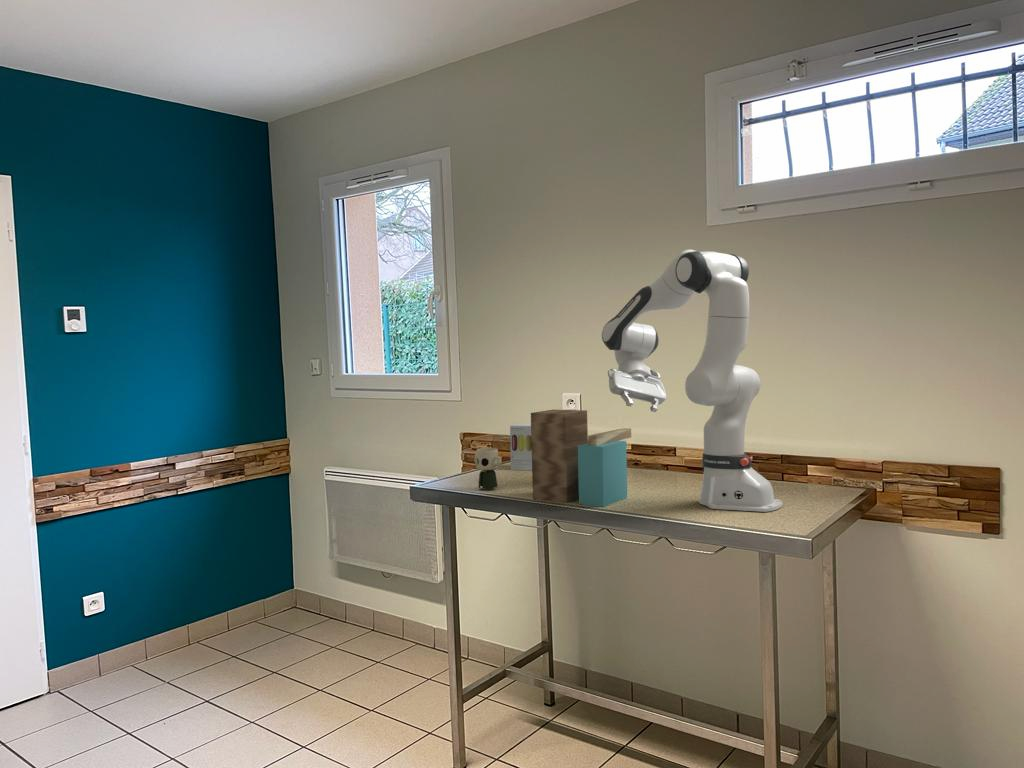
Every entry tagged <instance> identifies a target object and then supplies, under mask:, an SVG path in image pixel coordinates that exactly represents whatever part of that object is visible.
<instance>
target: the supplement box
mask: <svg viewBox="0 0 1024 768" xmlns="http://www.w3.org/2000/svg"><path fill="white" fill-rule="evenodd" d="M509 433H510V434H509V440H510V441H509V444H510V445H509V446H510V447H509V448H510V453H509V454H510V455H509V456H510V471H532V446H531V422H530V423H527V422H526V423H522V422H521V423H520V422H519V423H517V422H515V423H513V424H510V426H509Z"/></svg>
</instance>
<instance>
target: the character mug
mask: <svg viewBox="0 0 1024 768" xmlns="http://www.w3.org/2000/svg"><path fill="white" fill-rule="evenodd" d="M474 463H475V466H476V469H477V470H479V477H478V484H477V485H478V489H482V490H491V489H492V490H493V489H495V488H497V487H498V481H497V473H496V471H495V470H497V469H498V468H499V467H500V466H501V457H500V456H499V450H498V448H494V447H483V448H482V447H481V448H478V449H476V451H475V454H474ZM481 487H482V488H481Z"/></svg>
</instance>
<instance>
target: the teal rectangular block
mask: <svg viewBox="0 0 1024 768" xmlns="http://www.w3.org/2000/svg"><path fill="white" fill-rule="evenodd" d="M627 452H628V451H627V440H619V441H615V442H611V443H606V444H602V445H598V446H591V445H588V443H587V444H582V445H578V478H579V499H578V504H579V505H583V506H584V505H585V506H592V507H593V506H595V507H602V508H604V507H606V506H609V505H612V504H614V502H615V503H616V502H620V501H621V500H625V499H628V463H627V461H628V460H627V459H628V458H627V455H628V453H627ZM624 498H625V499H624ZM619 500H620V501H619Z"/></svg>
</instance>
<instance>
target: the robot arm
mask: <svg viewBox="0 0 1024 768" xmlns="http://www.w3.org/2000/svg"><path fill="white" fill-rule="evenodd" d="M749 271H750V270H749V265H748V262H747V261H746V259H744V257H741V256H740V255H737V254H731V253H723V252H717V251H698V250H695V249H685V250H683V251H681V252H680V253H678V255H677V256H676V257H674V259H673V260H672V261H671V262H670V263H669V264H668V266H667V267H666V268H665V270H664V272H663V273H662V274H661V275H660V276H659V277H658V278H657V279H656V280H655V281H653V282H652V283H650V284H648V285H647V286H645V287H642V288H641V289H639V290H638V291H637V292H636V293H635V294H634V295H633V296H632V298H630V299H629V301H628V302H627V303H626V304H625V305H624V306H623V307H622V309H620V310H619V312H618V313H617V314H616V315H615V316H614V317H613V318H610V320H609V321H608V322H606V323H605V325H604V326H603V328H602V331H601V341H602V342H603V344H604V345H605V346H606V348H607V349H608V350H609V351H614V356H615V361H616V364H617V365H618V369H615V368H611V369H609V370H607V376H608V387H609V391H610V392H611V394H614V395H616V396H617V395H619V396H620V397H621V399H622V400H623V401H624V403H625V404H626V406H627V407H629V408H630V407H632V406H633V405H634V402H633V399H635V400H639V401H643V402H648V403H650V405H651V406H650V407H649V409H650V411H651V412H653V413H656V412H657V411H658V410H659V409H658V405H662V404H663V403H664V402H665V401H666V400H667V392H666V389H665V386H664V384H663V382H662V381H661V374H660V373H659V372H657V371H656V370H653V369H652V368H650V367H649V366H648V365H646V364H645V361H644V360H645V359H648V358H649V357H650V356H651V355H652V354H653V353H654V352H655V351H656V350H657V348H658V347H659V340H660V339H659V335H658V332H657V330H656V328H655V327H654V326H652V325H649V324H643V323H638V322H636V321H637V319H639V318H640V316H641V315H643V314H645V313H647V312H650V311H652V312H653V311H658V310H674V309H679V308H681V307H683V306H684V305H685V304H686V303H687V302H688V301H690V300H691V298H692V296H693V295H694V294H695V293H697V294H702V293H703V292H705V293H706V295H707V296H708V299H709V304H708V305H709V307H708V314H707V315H708V316H707V326H706V327H707V328H706V336H705V342H704V347H703V350H702V353H701V356H700V358H699V359H698V362H697V363H696V365H695V367H694V368H693V370H692V371H691V372H689V374H687V376H686V378H685V381H684V391H685V394H686V396H687V398H688V399H689V400H690V401H691V402H692V403H694V404H697V405H701V406H705V407H712V406H713V410H712V413H711V415H710V417H709V419H708V420H707V421H706V422H705V424H704V427H703V453H702V458H701V467H702V472H703V476H702V477H703V479H702V486H701V490H700V491H701V492H700V496H699V499H698V504H700V505H702V506H706V507H707V508H709V509H712V510H727V511H729V510H730V511H743V512H762V513H763V512H764V513H766V512H773V511H776V510H778V509H780V508H782V507H783V501H782V500H780V499H778V498H776V499H775V495H774V489H773V485H772V483H771V482H770V481H769V480H768V479H766V478H765V477H764V476H763V475H762V474H760V473H758V471H756V470H755V469H754V468H753V467H752V461H753V456H749V455H748V454H746V453H745V427H746V421H747V417H748V413H749V409H750V406H751V404H752V402H753V400H754V399H755V397H756V396H757V395H758V394H759V392H760V389H761V379H760V376H759V375H758V373H757V372H756V370H754V368H753V369H752V368H751V367H748V366H745V365H739V364H736V362H737V359H738V357H739V355H740V354H741V353H742V352H743V350H744V349H745V348H746V346H747V344H748V338H749V337H748V336H749V324H750V323H749V322H750V308H751V307H750V291H749V285H748V283H747V281H748V279H749V274H750V272H749Z"/></svg>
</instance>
